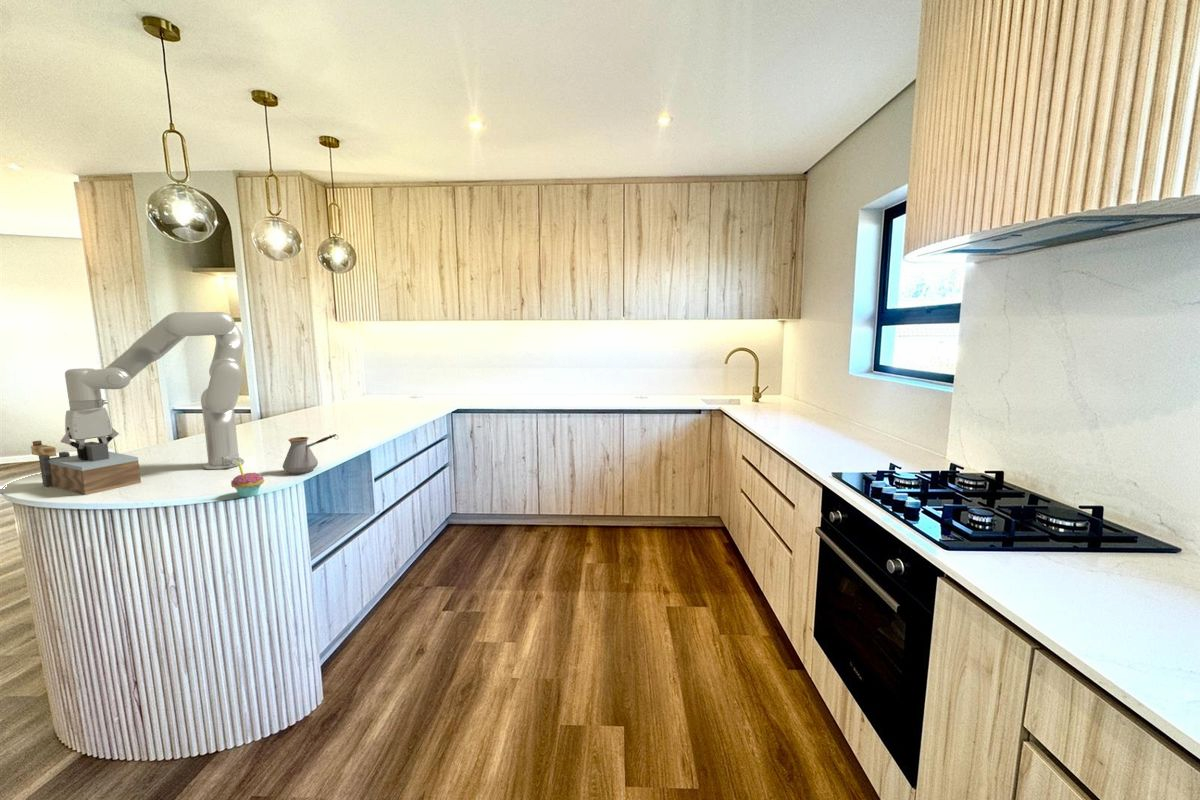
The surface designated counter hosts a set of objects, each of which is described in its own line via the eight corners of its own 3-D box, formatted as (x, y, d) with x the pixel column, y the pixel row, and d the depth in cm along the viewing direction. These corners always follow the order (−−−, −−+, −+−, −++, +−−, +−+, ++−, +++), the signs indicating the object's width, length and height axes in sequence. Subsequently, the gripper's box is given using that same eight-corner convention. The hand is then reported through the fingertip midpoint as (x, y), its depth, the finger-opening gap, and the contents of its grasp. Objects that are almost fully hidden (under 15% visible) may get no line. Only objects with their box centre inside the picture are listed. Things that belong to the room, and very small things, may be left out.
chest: (141, 482, 164) (137, 453, 162) (80, 496, 150) (76, 463, 148) (103, 474, 173) (99, 446, 172) (43, 486, 159) (38, 455, 158)
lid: (138, 463, 163) (136, 442, 162) (82, 473, 150) (79, 452, 149) (105, 456, 171) (102, 437, 170) (49, 466, 158) (46, 445, 157)
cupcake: (239, 501, 147) (235, 463, 145) (227, 495, 151) (223, 459, 149) (269, 493, 154) (266, 457, 152) (258, 488, 158) (254, 454, 157)
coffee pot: (275, 475, 173) (272, 435, 171) (297, 466, 185) (294, 429, 183) (329, 477, 172) (326, 437, 170) (349, 468, 183) (346, 431, 181)
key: (56, 455, 162) (54, 442, 161) (45, 457, 160) (43, 444, 159) (42, 452, 166) (40, 440, 165) (32, 454, 164) (30, 441, 163)
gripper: (113, 401, 167) (120, 451, 169) (44, 407, 151) (52, 462, 154) (124, 402, 164) (131, 453, 166) (55, 409, 148) (64, 465, 151)
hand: (93, 457), depth 160 cm, fingers closed on lid, 4 cm apart
